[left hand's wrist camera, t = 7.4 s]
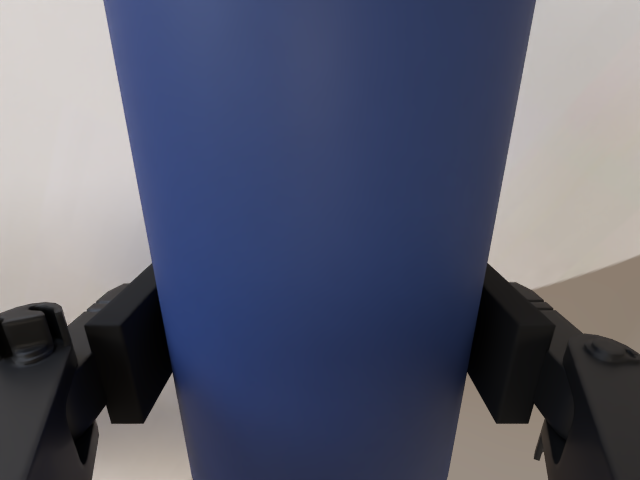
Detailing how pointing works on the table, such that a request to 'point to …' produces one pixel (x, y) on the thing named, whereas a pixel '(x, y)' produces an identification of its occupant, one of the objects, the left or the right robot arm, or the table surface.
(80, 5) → the table surface
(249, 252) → the rod
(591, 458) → the left robot arm
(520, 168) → the table surface
